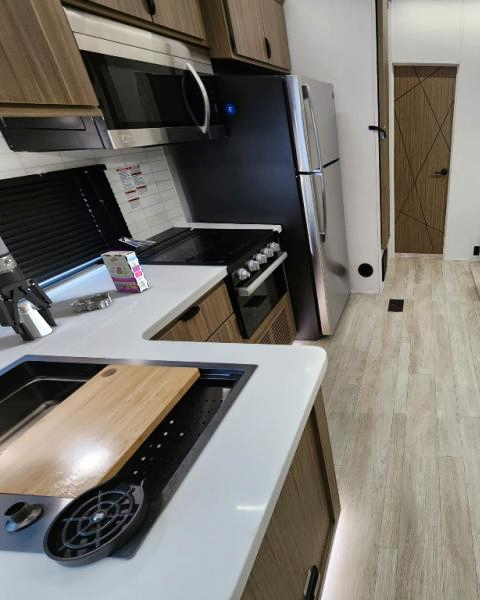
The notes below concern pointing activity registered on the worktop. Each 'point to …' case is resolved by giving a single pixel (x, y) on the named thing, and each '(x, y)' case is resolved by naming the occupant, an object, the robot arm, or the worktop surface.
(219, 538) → the worktop surface
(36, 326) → the pepper shaker
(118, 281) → the candy bar box
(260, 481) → the worktop surface
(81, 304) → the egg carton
